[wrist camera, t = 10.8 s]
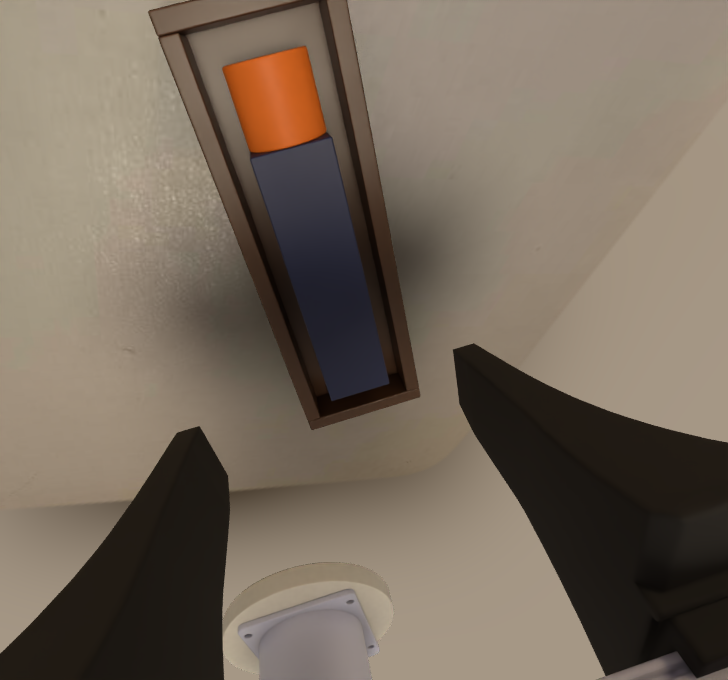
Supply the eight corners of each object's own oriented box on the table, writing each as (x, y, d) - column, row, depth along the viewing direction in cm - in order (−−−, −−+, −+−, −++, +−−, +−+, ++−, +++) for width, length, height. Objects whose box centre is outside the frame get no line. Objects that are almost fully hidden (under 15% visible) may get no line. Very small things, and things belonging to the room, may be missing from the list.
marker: (376, 351, 21) (389, 383, 19) (323, 367, 21) (331, 401, 19) (302, 46, 14) (310, 43, 12) (223, 67, 14) (218, 67, 12)
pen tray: (408, 373, 23) (420, 397, 21) (307, 403, 22) (311, 431, 21) (330, -25, 14) (340, -37, 12) (160, 17, 14) (147, 10, 12)
